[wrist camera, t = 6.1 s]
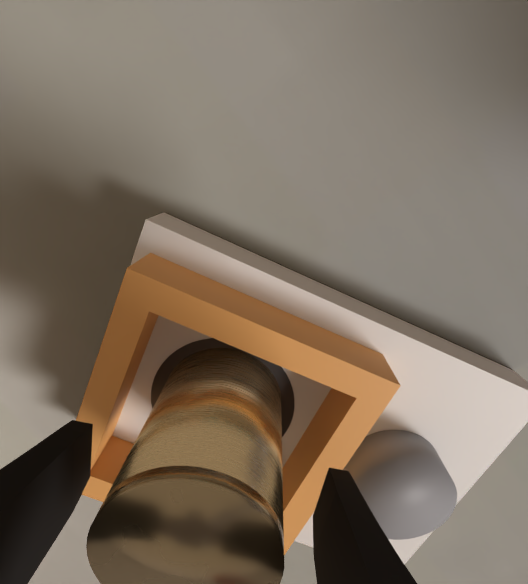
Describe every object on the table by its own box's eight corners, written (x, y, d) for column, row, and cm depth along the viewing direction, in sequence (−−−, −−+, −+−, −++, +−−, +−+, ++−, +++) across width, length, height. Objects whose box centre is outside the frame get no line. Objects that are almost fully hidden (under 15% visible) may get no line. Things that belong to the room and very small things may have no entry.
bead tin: (291, 358, 13) (301, 503, 7) (270, 454, 15) (266, 636, 9) (169, 338, 13) (86, 469, 7) (161, 437, 14) (86, 610, 9)
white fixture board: (514, 370, 15) (592, 436, 11) (381, 535, 19) (408, 628, 15) (164, 212, 14) (120, 228, 10) (88, 425, 17) (34, 498, 13)
